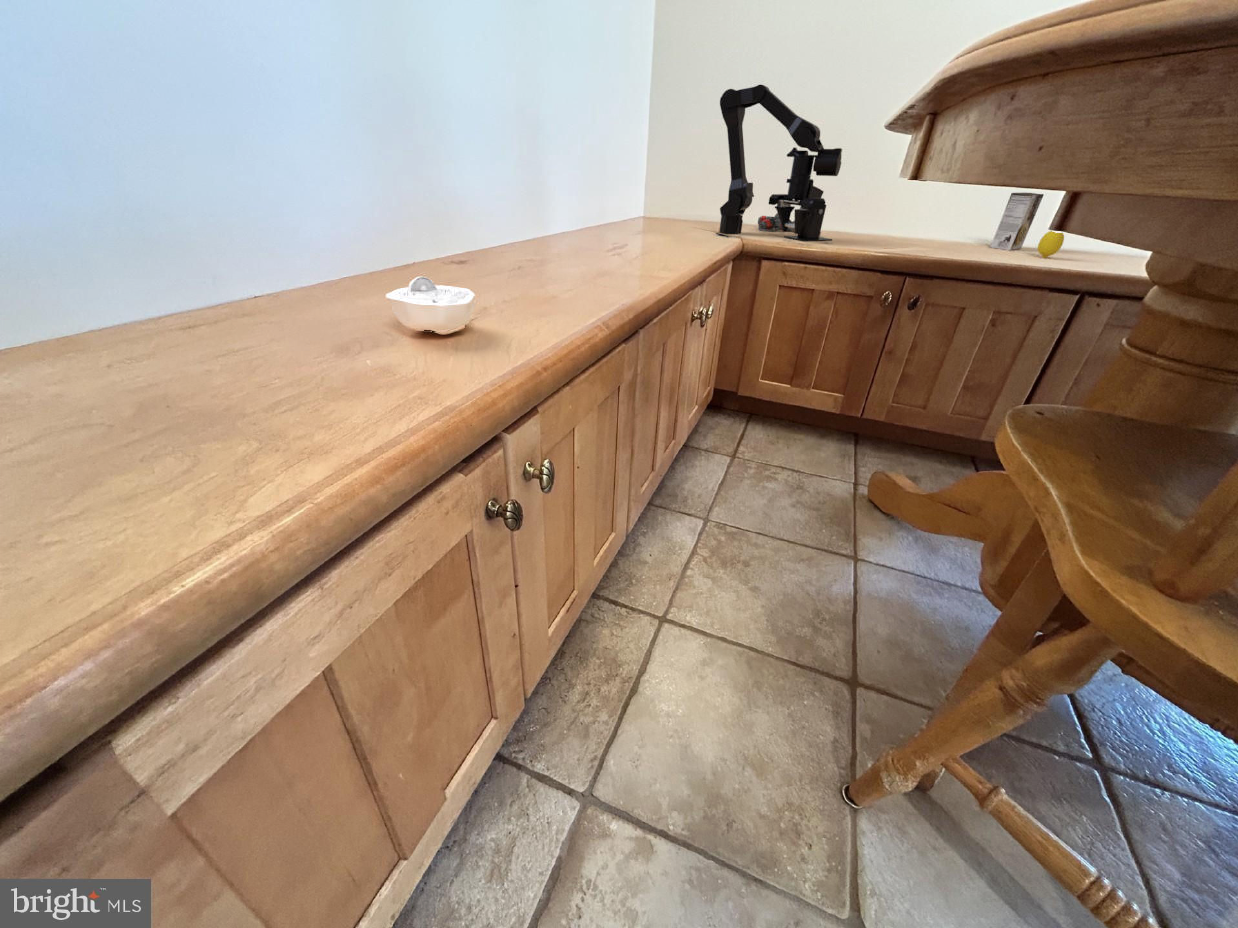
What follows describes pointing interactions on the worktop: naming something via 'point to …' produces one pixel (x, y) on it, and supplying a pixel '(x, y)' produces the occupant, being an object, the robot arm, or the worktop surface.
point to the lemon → (1050, 243)
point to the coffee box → (1016, 220)
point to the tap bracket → (811, 228)
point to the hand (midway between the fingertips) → (790, 232)
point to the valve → (771, 224)
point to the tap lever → (792, 223)
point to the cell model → (432, 305)
